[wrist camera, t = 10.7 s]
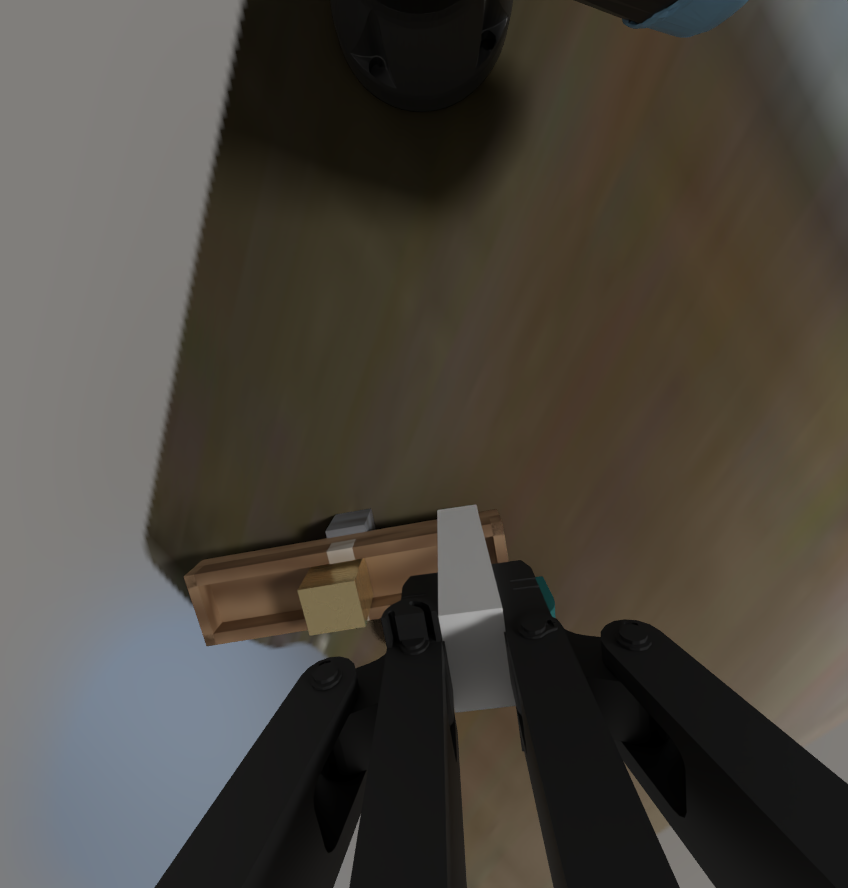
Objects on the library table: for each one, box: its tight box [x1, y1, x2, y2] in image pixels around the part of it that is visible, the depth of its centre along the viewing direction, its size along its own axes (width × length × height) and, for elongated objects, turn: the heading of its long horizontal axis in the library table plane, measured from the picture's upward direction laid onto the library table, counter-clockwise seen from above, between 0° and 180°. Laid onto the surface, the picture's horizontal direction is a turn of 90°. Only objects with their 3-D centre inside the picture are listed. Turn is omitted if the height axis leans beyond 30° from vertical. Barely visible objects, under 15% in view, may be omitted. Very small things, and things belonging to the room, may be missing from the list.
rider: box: [297, 558, 374, 635], centre depth 39 cm, size 4×5×5 cm
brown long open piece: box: [184, 509, 509, 646], centre depth 43 cm, size 9×30×8 cm, turn 101°
